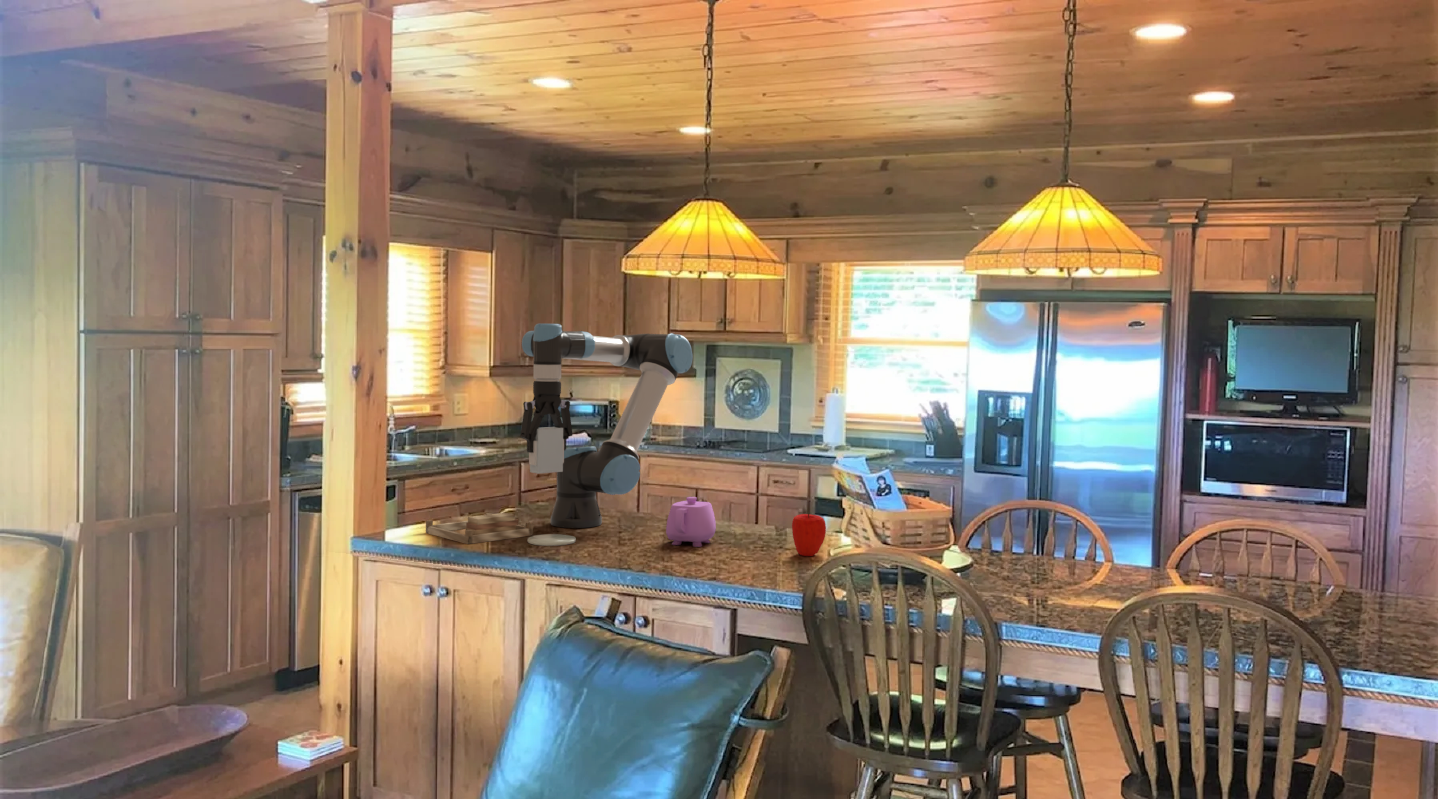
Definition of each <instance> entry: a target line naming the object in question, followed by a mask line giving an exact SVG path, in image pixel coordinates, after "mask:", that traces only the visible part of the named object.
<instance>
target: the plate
mask: <svg viewBox="0 0 1438 799" xmlns="http://www.w3.org/2000/svg"><path fill="white" fill-rule="evenodd" d="M576 538H577V537H575V536H573V535H568V534H559V533H558V534H557V533H553V534H537V535H531V536H528V537H527V543H528V544H530V545H535V546H542V547H546V546H547V547H554V546H555V547H556V546H566V545H573V544H574V543H575V542H576Z"/></svg>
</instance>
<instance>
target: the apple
mask: <svg viewBox="0 0 1438 799" xmlns="http://www.w3.org/2000/svg"><path fill="white" fill-rule="evenodd" d="M826 525H827V524H826V521H825V519H824V518H823V516H821V515H817V514H810V513H802V514H800V513H799V514H797V515H795V516H793V519H792V523H791V530H792V538H793V542H794V547H795V550H796V552H797V553H798V555H800V556H804V557H813V556H815V555H816V554H818V553H819V550H820V549H821V547H822V545H823V543H824V541H825V538H826V532H827V526H826Z"/></svg>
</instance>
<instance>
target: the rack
mask: <svg viewBox="0 0 1438 799" xmlns="http://www.w3.org/2000/svg"><path fill="white" fill-rule="evenodd" d="M489 514H492V513H490V512H487V513H485V514H484V515H489ZM466 523H468V520H464V521H456V522H447V523H438V524H434V520H429V519H428V520H425V534H429V535H433V536H435V537H436V536H437V537H439V538H443V539H447V540H451V541H456V542H459V543H462V544H467V545H472V544H479V543H484V542H485V543H487V542H493V541H501V540H508V539H516V538H522V537H523V538H524V537H531V536H534V523H533V522H525V526H524V525H520V524H518V525H516V530H510V531H502V532H494V533H487V534H479V535H472V530H466ZM457 530H464V534H463V533H460V532H456V531H457Z"/></svg>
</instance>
